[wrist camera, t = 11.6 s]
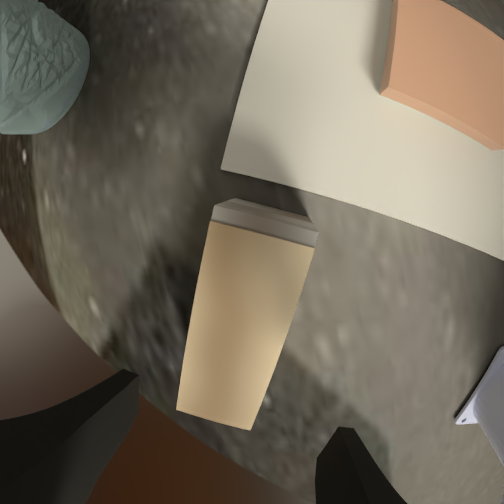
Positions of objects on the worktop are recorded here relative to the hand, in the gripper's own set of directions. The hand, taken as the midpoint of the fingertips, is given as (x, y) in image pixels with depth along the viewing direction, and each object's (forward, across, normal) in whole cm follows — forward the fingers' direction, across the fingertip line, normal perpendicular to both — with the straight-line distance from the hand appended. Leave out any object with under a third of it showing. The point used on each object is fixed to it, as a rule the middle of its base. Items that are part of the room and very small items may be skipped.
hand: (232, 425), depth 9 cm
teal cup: (+9, +19, -13) cm, 24 cm away
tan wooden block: (+8, +1, -1) cm, 9 cm away
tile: (+7, -7, -18) cm, 21 cm away
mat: (+8, -7, -16) cm, 19 cm away
